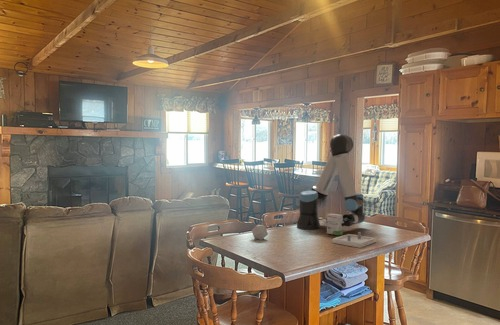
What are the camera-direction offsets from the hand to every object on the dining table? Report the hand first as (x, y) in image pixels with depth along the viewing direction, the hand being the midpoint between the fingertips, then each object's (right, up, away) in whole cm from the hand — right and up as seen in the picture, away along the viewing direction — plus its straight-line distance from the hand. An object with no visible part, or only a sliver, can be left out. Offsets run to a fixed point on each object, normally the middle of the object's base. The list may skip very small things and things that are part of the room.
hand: (330, 224), depth 222 cm
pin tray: (+9, -7, -16) cm, 20 cm away
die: (-42, -7, -9) cm, 43 cm away
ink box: (+3, -7, +3) cm, 8 cm away
